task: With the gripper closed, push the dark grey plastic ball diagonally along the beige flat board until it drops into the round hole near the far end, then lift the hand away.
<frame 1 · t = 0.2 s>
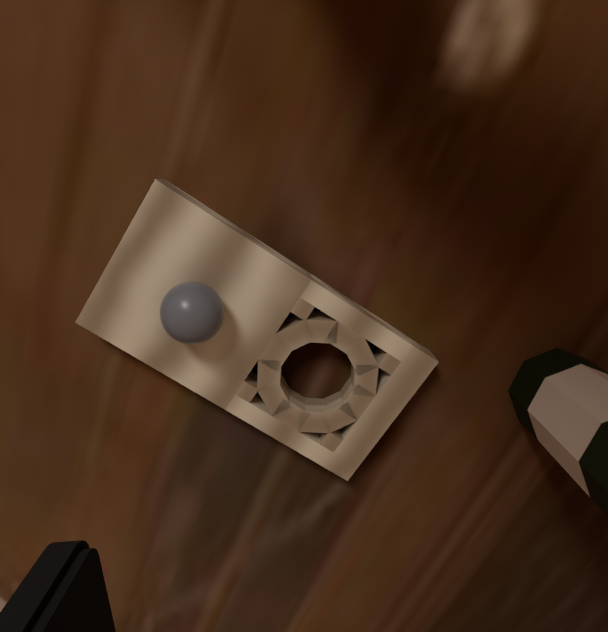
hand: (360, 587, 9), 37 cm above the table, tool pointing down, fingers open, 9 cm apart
wine bottle: (551, 388, 48), on the table
ball: (192, 312, 40), point 5 cm above the table, touching beige flat board
beige flat board: (261, 332, 46), on the table
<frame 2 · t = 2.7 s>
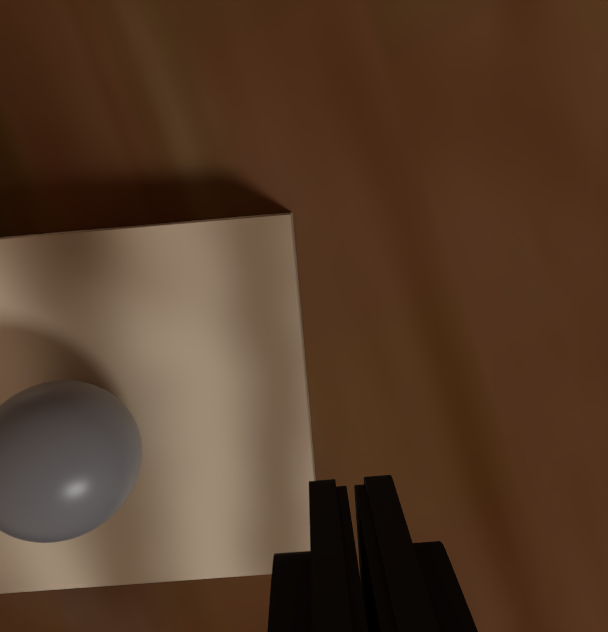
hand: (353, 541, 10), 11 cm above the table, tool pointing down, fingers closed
ball: (61, 458, 16), point 5 cm above the table, touching beige flat board
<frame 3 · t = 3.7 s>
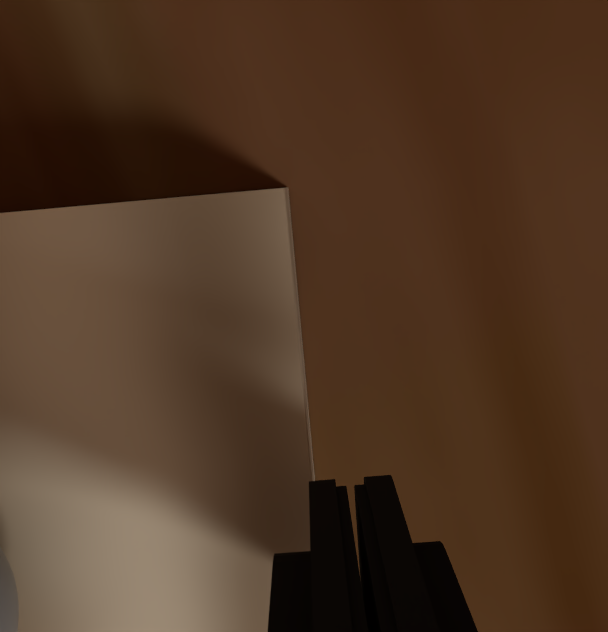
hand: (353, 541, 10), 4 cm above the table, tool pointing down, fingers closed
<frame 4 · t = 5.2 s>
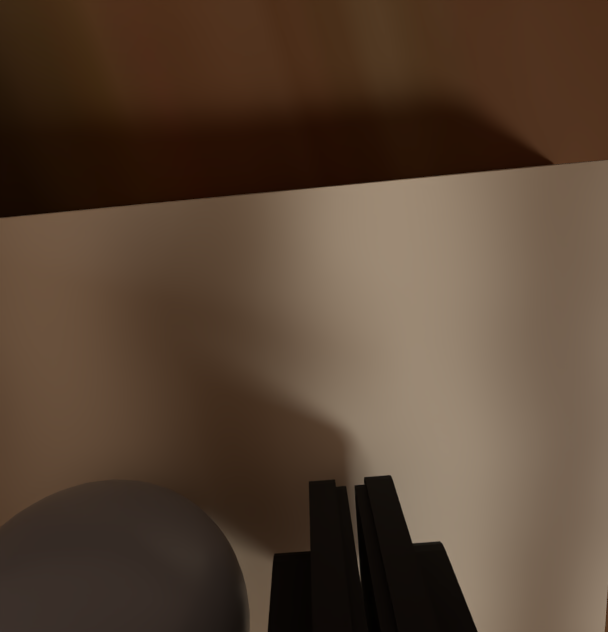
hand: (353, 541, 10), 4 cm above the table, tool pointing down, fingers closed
beige flat board: (40, 475, 14), on the table
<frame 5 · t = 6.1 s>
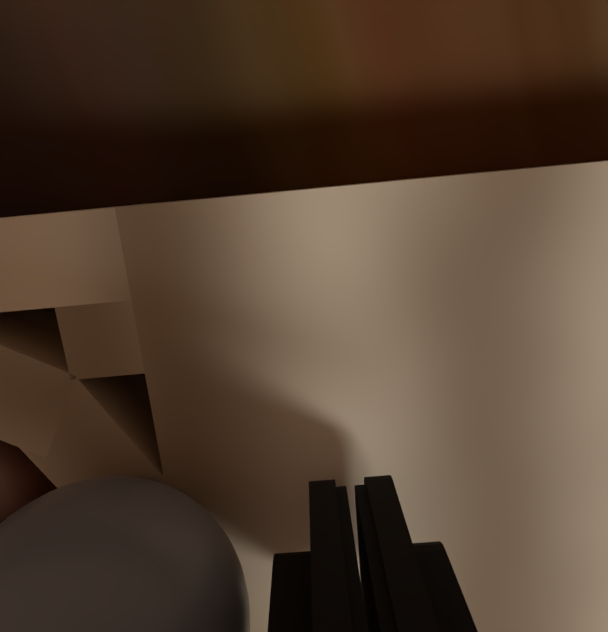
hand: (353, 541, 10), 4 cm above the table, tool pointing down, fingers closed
ball: (101, 630, 9), point 6 cm above the table, tilted 42°, touching gripper
beige flat board: (227, 459, 14), on the table
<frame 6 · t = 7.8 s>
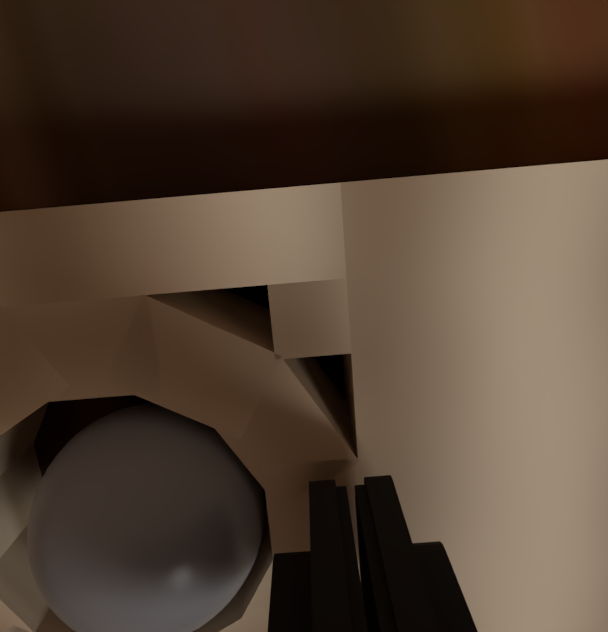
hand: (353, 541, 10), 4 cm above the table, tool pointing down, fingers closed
ball: (153, 515, 11), point 2 cm above the table, tilted 126°
beige flat board: (376, 445, 14), on the table
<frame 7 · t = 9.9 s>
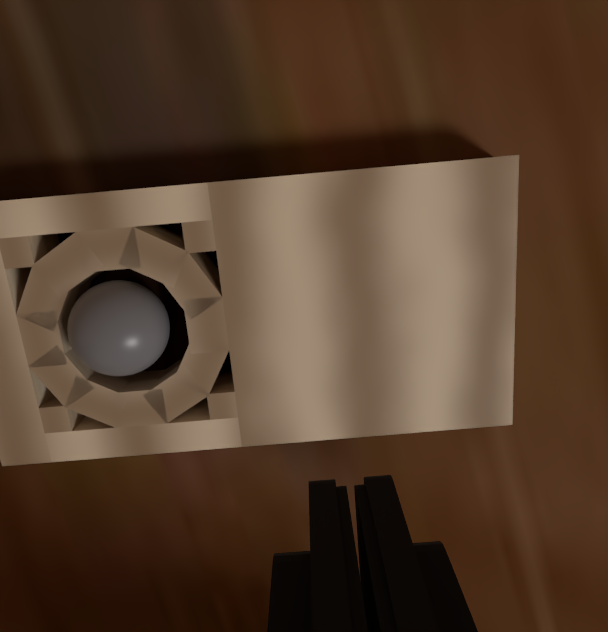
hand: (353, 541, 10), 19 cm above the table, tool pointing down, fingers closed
ball: (120, 328, 26), point 2 cm above the table, tilted 147°
beige flat board: (246, 308, 29), on the table
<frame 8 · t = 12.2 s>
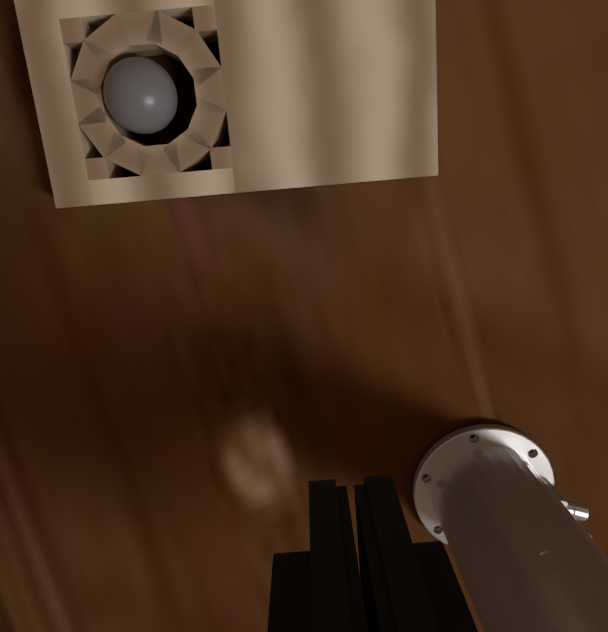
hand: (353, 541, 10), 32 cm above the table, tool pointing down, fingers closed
ball: (141, 96, 35), point 2 cm above the table, tilted 155°
beige flat board: (239, 95, 38), on the table
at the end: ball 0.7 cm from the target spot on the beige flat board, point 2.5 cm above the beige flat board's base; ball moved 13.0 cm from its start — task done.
